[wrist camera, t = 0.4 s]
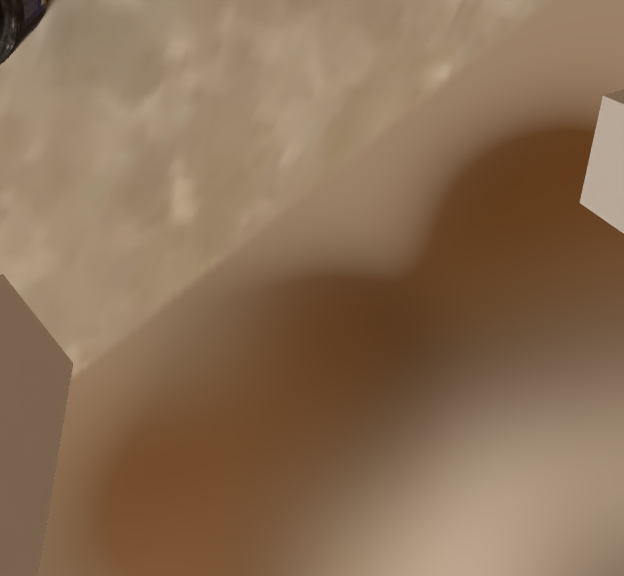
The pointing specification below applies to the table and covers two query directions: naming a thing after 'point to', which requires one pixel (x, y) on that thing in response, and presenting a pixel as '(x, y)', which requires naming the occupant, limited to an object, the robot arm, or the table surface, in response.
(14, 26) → the pill bottle
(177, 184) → the table surface
